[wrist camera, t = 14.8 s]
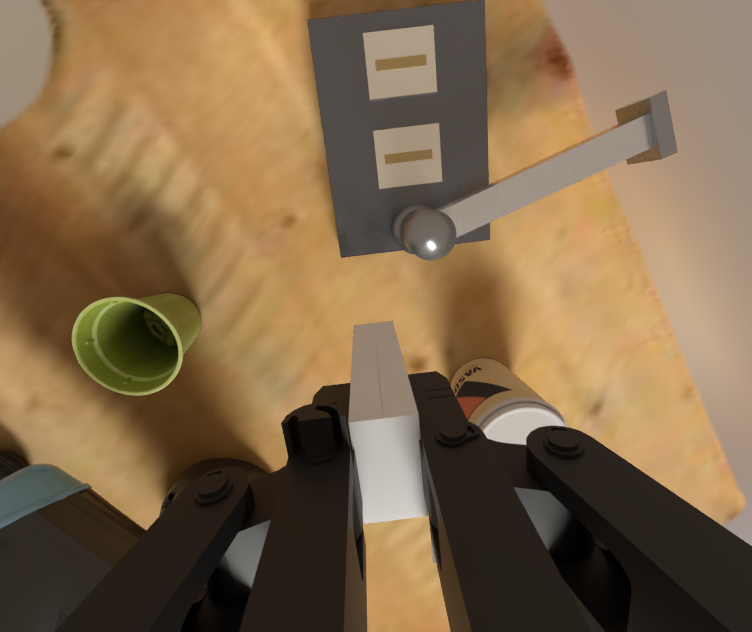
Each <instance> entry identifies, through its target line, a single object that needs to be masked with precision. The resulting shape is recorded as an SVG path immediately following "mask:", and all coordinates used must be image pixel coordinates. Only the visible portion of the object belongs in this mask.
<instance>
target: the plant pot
mask: <svg viewBox="0 0 752 632" xmlns="http://www.w3.org/2000/svg"><path fill="white" fill-rule="evenodd" d="M153 325H155V326H156V327H157V329H158V330H159V331H160V332H161V333H162V335H159V334H158V333H157V332H156V331H155V330H154V328H153ZM200 329H201V315H200V313H199V311H198V309H197V307H196V306H195V305H194V304H193V303H192V302H191V301H190V300H189V299H187V298H186V297H184V296H181V295H177V294H172V293H163V294H158V295H153V296H149V297H143V298H138V299H135V298H130V297H121V296H116V297H108V298H104V299H101V300H98V301H96V302H93V303H92V304H90V305H88V306H87V307H86V308H85V309H84V310H83V311H82V312H81V313H80V314H79V316H78V317H77V319H76V321H75V324H74V326H73V330H72V346H73V350H74V352H75V355H76V358H77V360H78V362H79V364H80V365H81V367H82V368H83V369H84V371H85V372H86V373H87V374H88V375H89V376H90V377H91V378H92V379H93V380H94V381H96V382H97V383H99V384H100V385H102V386H103V387H105V388H107V389H109V390H111V391H114V392H118V393H121V394H125V395H137V396H139V395H147V394H151V393H154V392H157V391H159V390H161V389H163V388H164V387H166V386H167V385H168V384H169V383H170V382H171V381H172V380H173V379H174V378H175V377H176V375H177V374H178V372H179V370H180V368H181V365H182V362H183V355H184V354H185V352H186V351H187V349H188V348H189V347H190V345H191V344H192V343H193V341H194V340H195V339H196V337H197V336H198V334H199V332H200Z"/></svg>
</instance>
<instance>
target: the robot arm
mask: <svg viewBox="0 0 752 632" xmlns="http://www.w3.org/2000/svg"><path fill="white" fill-rule="evenodd" d="M281 425H282V429H283V434H284V438H285V443H286V447H287V452H288V461H287V464H286V466H285V467H283V468H281V469H280V470H278V471H275V472H273V473H271V474H267V473H266V472H265V471H263V470H262V469H260V468H258V467H256V466H254V465H252V464H249V463H246V462H243V461H239V460H233V459H213V460H208V461H204V462H201V463H198V464H196V465H194V466H192V467H190V468H188V469H187V470H185V471H184V472H183V473H182V474H181V475H180V476H179V477H178V478H177V479H176V481H175V482H174V484H173V485H172V487H171V488H170V490H169V491H168V493H167V494H166V496H165V499H164V501H163V503H162V507H161V511H160V516H159V518H158V519H157V520H156V521H155V522H154V523H153V524H152V525H151V526H150V527H149V529H148V530H147V531H146V530H145V529H144V528H142V527H141V526H139V525H138V524H137V523H135V522H134V521H133V520H131V519H130V518H129V517H127V516H126V515H125V514H123V513H122V512H121V511H119V510H118V509H117V508H115V507H114V506H112V505H111V504H110V503H109V502H107V501H106V500H105V499H104V498H102V497H101V496H100V495H98V494H97V493H96V492H95V491H93V490H92V489H91V488H92V487H91V486H90V485H89V484H87V483H85V484H83V483H82V482H80V481H79V480H77V479H76V478H74V477H72V476H71V475H69V474H68V473H66V472H65V471H63V470H62V469H60V468H59V467H57V466H54V465H51V464H36V465H32V466H28V467H25V468H23V469H21V470H19V471H17V472H15V473H13V474H11V475H9V476H8V477H6V478H4V479H2V480H1V481H0V632H367V594H366V544H365V538H364V531H363V520H364V524H367V523H375V522H383V521H391V520H400V519H408V518H416V517H424V516H428V514H429V521H430V532H431V543H432V554H433V563H437V568H438V572H439V577H440V582H441V587H442V592H443V596H444V601H445V606H446V611H447V615H448V620H449V625H450V630H451V632H752V546H750V545H749V544H748V543H746V542H745V541H743V540H742V539H740V538H739V537H737V536H736V535H734V534H733V533H732V532H730V531H728V530H727V529H726V528H724V527H723V526H721V525H720V524H718V523H717V522H715V521H714V520H712V519H711V518H710V517H708V516H707V515H705V514H704V513H702V512H701V511H699V510H698V509H696V508H695V507H693V506H692V505H690V504H689V503H688V502H686V501H685V500H683V499H682V498H680V497H679V496H677V495H676V494H674V493H673V492H671V491H670V490H668V489H667V488H666V487H664V486H663V485H661V484H660V483H658V482H657V481H655V480H654V479H652V478H651V477H649V476H648V475H646V474H645V473H643V472H642V471H641V470H639V469H638V468H636V467H635V466H633V465H632V464H630V463H629V462H627V461H626V460H624V459H623V458H621V457H620V456H619V455H617V454H616V453H614V452H613V451H611V450H610V449H608V448H607V447H605V446H604V445H602V444H601V443H599V442H598V441H597V440H595V439H594V438H592V437H591V436H589V435H587V434H585V433H583V432H581V431H579V430H576V429H572V428H569V427H565V426H552V425H551V426H544V427H539V428H537V429H535V430H533V431H531V432H530V433H529V435H528V436H527V438H526V445H522V444H511V443H503V442H497V441H494V440H491V439H487V437H486V435H485V434H484V432H483V431H482V430H481V429H480V428H479V427H478V426H477V425H475V424H473V423H471V422H469V421H468V420H467V418H466V416H465V414H464V412H463V410H462V408H461V406H460V404H459V402H458V400H457V398H456V396H455V394H454V392H453V390H452V389H451V386H450V384H449V382H448V380H447V378H446V377H444V376H443V375H441V374H440V373H438V372H437V371H434V372H426V373H418V374H410V375H407V371H406V367H405V364H404V360H403V357H402V353H401V349H400V346H399V342H398V339H397V335H396V332H395V328H394V324H393V321H388V322H379V323H371V324H363V325H355V326H354V332H353V349H352V367H351V383H346V384H338V385H330V386H323V387H322V388H321V389H320V390H319V391H318V392H317V393H316V394H315V395H314V398H313V402H312V404H309V405H305V406H303V407H300V408H298V409H296V410H294V411H293V412H291V413H290V414H288V415H287V416H286V417H285V419H284V420H283V421H282V423H281ZM427 510H428V512H427Z"/></svg>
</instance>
